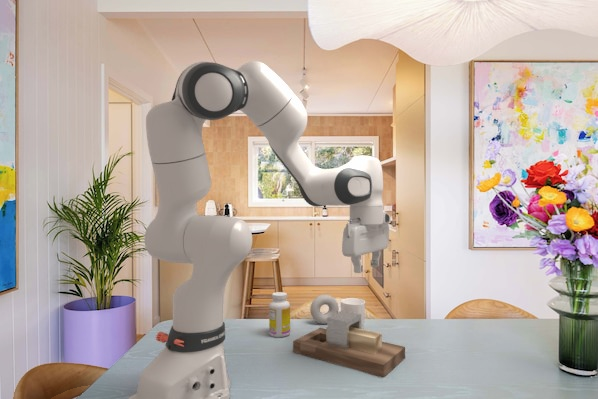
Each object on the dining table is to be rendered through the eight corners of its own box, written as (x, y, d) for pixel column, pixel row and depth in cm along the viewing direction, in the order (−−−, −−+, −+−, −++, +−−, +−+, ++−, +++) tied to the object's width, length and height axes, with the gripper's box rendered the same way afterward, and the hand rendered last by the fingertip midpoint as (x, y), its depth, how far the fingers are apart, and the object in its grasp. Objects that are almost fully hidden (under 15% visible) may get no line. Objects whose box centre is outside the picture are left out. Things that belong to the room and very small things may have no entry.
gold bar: (374, 354, 98) (374, 338, 98) (326, 342, 107) (326, 327, 107) (382, 348, 102) (381, 333, 102) (334, 337, 110) (334, 323, 110)
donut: (336, 321, 135) (336, 292, 135) (340, 324, 131) (339, 295, 132) (309, 323, 133) (309, 294, 133) (311, 326, 129) (311, 296, 129)
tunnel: (346, 350, 101) (346, 321, 101) (327, 345, 104) (327, 317, 104) (361, 340, 108) (361, 314, 108) (342, 336, 111) (342, 310, 111)
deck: (383, 377, 92) (383, 365, 92) (293, 351, 108) (293, 341, 108) (405, 358, 103) (405, 346, 103) (320, 337, 119) (320, 327, 119)
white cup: (360, 338, 118) (360, 305, 118) (336, 333, 122) (336, 302, 122) (368, 330, 125) (368, 299, 125) (346, 326, 129) (346, 296, 129)
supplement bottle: (291, 331, 125) (291, 291, 125) (289, 338, 118) (288, 296, 118) (271, 330, 126) (271, 291, 126) (267, 337, 119) (267, 296, 119)
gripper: (358, 220, 91) (358, 278, 92) (393, 215, 108) (393, 265, 108) (335, 219, 95) (336, 274, 95) (372, 215, 112) (372, 262, 112)
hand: (366, 269), depth 102 cm, fingers open, 8 cm apart
